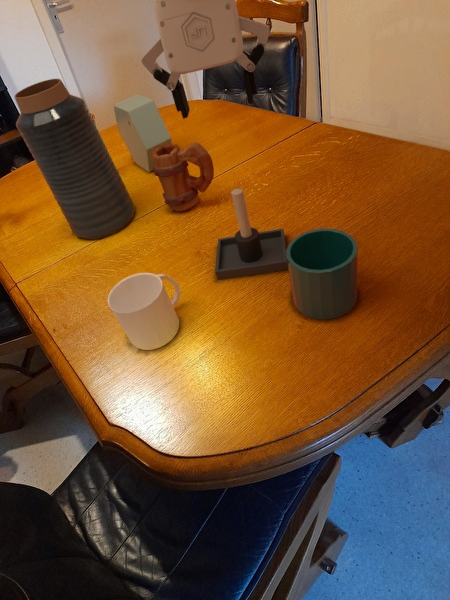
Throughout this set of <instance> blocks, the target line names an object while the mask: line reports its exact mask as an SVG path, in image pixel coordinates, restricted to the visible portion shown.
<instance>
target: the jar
mask: <svg viewBox="0 0 450 600" xmlns="http://www.w3.org/2000/svg"><path fill="white" fill-rule="evenodd" d="M358 249H359V248H358V244H357V241H356V240H355V239H354V237H352V235H350V234H349V233H347V232H345V231H343V230H339V229H336V228H335V229H334V228H317V229H311V230H308V231H306V232H302V233H301V234H299V235H297V236H296V237H295V238H293V239H292V240H291V242H290V243H288V246H287V247H286V255H287V263H288V275H289V283H290V289H291V296H292V301H293V305H294V308H296V310H297V311H298V312H299V313H301V314H302V315H303V316H306V317H308V318H310V319H314V320H322V321H324V320H325V321H326V320H333V319H337V318H340V317H342V316H344V315H346V314H347V313H349V312H350V311H351V310H352V309H353V308H354V306H355V305H356V303H357V299H358V269H359V268H358V266H359V265H358V263H359V262H358V261H359V258H358V257H359V256H358V255H359V252H358V251H359V250H358Z"/></svg>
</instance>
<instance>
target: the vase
mask: <svg viewBox="0 0 450 600" xmlns="http://www.w3.org/2000/svg"><path fill="white" fill-rule="evenodd" d="M14 99H15V102H16V104H17V107H18V109H19V111H20V114H19V116H18V118H17V120H16V122H15V126H16V128H17V131H18V132H19V133H20V136H21V138H23V141H24V143H25V144H26V147H27V148H28V150H29V152H30V154H31V156H32V158H33V159H34V161H35V163H36V165H37V167H38V169H39V171H40V173H41V174H42V176H43V178H44V180H45V182H46V184H47V186H48V188H49V190H50V191H51V192H52V195H53V197H54V199H55V201H56V202H57V205H58V207H59V208H60V211H61V212H62V214H63V216H64V218H65V220H66V222H67V223H68V225H69V228H70V229H71V231H72V232H73V234H74V235H75V236H76V237H79V238H81V239H86V240H97V239H102V238H105V237H108V236H110V235H113V234H115V233H117V232H119V231H121V230H122V229H123V228H124V227H126V226H127V225H128V224H129V222H131V220H132V219H133V217H134V214H135V213H136V206H135V204H134V201H133V199H132V197H131V195H130V193H129V191H128V189H127V187H126V184H125V183H124V181H123V179H122V176H121V174H120V172H119V170H118V169H117V166H116V165H115V163H114V161H113V159H112V156H111V154H110V152H109V151H108V148H107V147H106V144H105V142H104V140H103V138H102V136H101V133H100V132H99V129H98V128H97V125H96V123H95V121H94V119H93V118H92V115H91V113H90V111H89V109H88V108H87V104H86V102H85V100H84V99H83V98H82V97H79V96H77V95H73V94H71V93H70V92H69V90H68V89H67V87H66V86H65V84H64V83H63V81H62V79H61V78H49V79H45V80H43V81H38V82H36V83H34V84H31V85H29V86H26V87H25V88H23V89H21V90H19V91H18V92H17V93H15V94H14Z"/></svg>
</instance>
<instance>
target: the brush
mask: <svg viewBox="0 0 450 600" xmlns="http://www.w3.org/2000/svg"><path fill="white" fill-rule="evenodd" d="M230 193H231V198H232V203H233V207H234V212H235V216H236V220H237V224H238V228H239V230H238V231H237V232H236V233H235V235H234V236H235V240H236V244H237V248H238V251H239V255H240V259H241V260H242V261H243V262H246V263H252V262H256V261H258V260H259V259H260V258H261V257H262V255H263V253H262V248H261V243H260V238H259V233H258V232H259V231H258V229H257V228H254V227H252V226H251V223H250V217H249V214H248V209H247V204H246V199H245V194H244V190H243V189H242V188H240V187H239V188H234V189H232V190H231V192H230Z"/></svg>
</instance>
